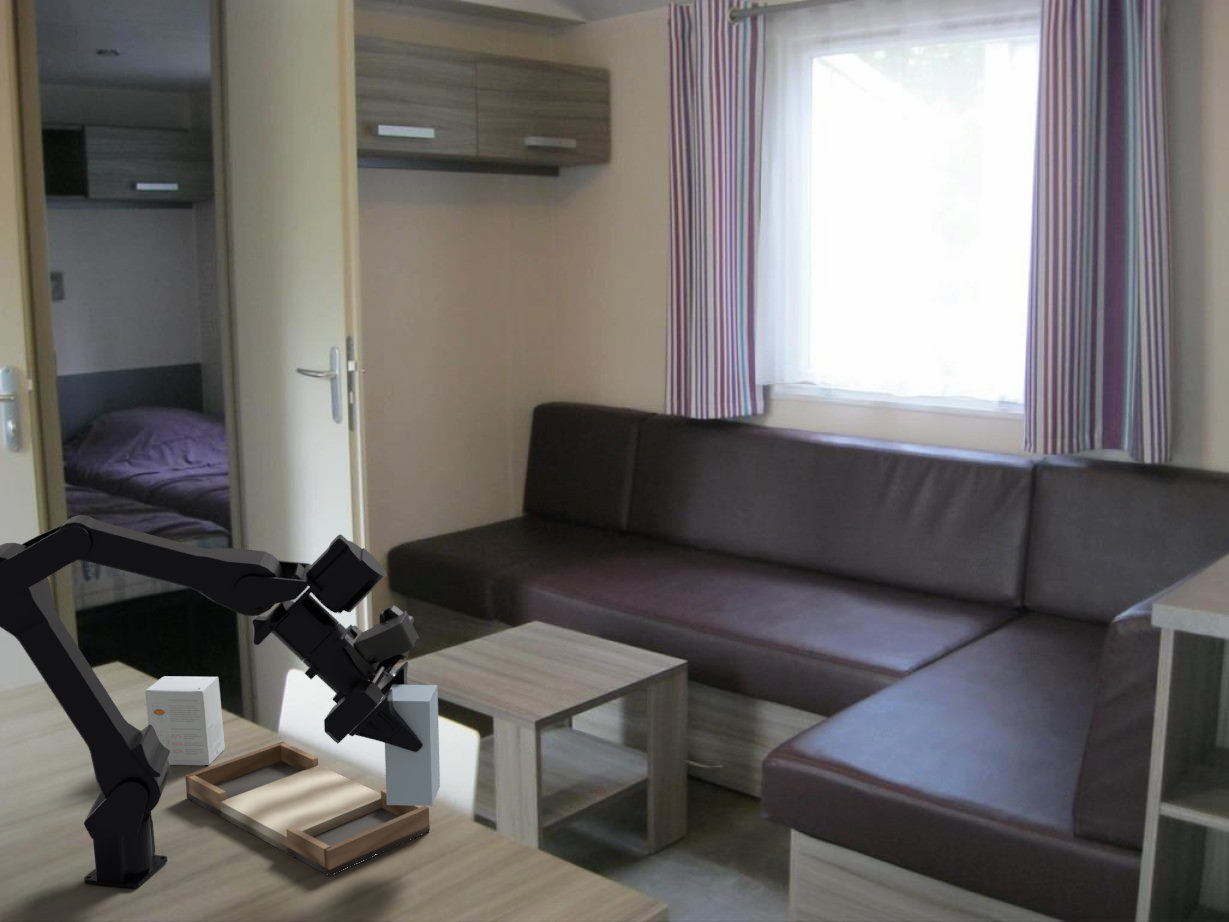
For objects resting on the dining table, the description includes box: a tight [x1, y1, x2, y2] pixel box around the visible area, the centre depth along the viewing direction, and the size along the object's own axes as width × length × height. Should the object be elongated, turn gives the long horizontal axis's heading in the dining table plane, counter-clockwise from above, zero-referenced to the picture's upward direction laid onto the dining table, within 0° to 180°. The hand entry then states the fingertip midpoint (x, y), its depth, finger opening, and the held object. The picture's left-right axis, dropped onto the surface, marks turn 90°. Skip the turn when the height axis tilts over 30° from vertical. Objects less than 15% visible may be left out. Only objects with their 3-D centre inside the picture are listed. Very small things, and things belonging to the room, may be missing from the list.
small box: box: [144, 675, 226, 766], centre depth 173 cm, size 8×6×10 cm
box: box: [184, 741, 431, 877], centre depth 157 cm, size 30×14×3 cm, turn 48°
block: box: [384, 684, 441, 807], centre depth 144 cm, size 5×5×12 cm
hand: (424, 739), depth 144 cm, fingers closed on block, 5 cm apart
